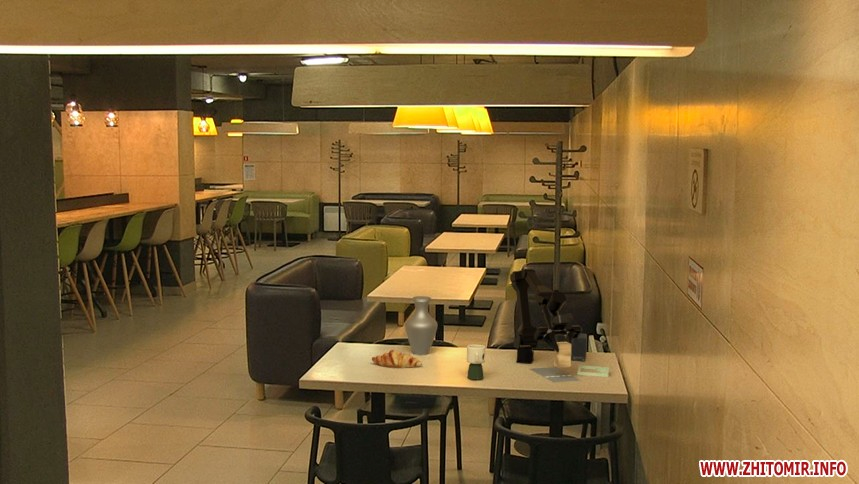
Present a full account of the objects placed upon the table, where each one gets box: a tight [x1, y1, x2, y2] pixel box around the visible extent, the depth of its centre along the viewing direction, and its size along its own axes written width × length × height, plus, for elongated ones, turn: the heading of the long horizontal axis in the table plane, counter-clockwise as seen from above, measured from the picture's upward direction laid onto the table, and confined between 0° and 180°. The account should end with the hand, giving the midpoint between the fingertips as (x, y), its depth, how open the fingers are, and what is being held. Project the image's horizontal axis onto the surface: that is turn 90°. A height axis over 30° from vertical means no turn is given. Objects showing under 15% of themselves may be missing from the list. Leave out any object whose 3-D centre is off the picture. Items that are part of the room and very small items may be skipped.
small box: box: [571, 332, 588, 362], centre depth 368 cm, size 11×6×10 cm, turn 168°
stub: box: [553, 341, 572, 368], centre depth 326 cm, size 4×5×9 cm
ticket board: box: [529, 366, 582, 383], centre depth 333 cm, size 22×12×2 cm, turn 19°
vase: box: [404, 295, 438, 356], centre depth 370 cm, size 14×14×25 cm
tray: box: [577, 364, 610, 378], centre depth 338 cm, size 12×12×2 cm
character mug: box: [466, 344, 486, 381], centre depth 329 cm, size 11×7×13 cm, turn 1°
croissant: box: [371, 349, 423, 369], centre depth 348 cm, size 21×10×8 cm, turn 83°
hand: (564, 351), depth 325 cm, fingers closed on stub, 5 cm apart
